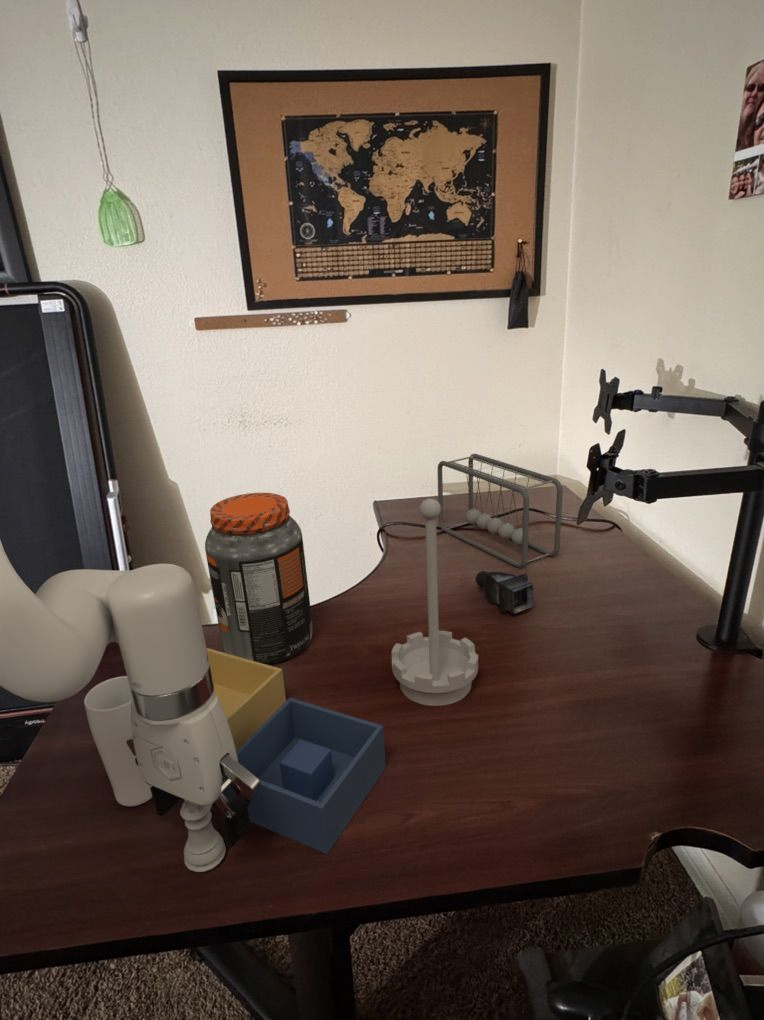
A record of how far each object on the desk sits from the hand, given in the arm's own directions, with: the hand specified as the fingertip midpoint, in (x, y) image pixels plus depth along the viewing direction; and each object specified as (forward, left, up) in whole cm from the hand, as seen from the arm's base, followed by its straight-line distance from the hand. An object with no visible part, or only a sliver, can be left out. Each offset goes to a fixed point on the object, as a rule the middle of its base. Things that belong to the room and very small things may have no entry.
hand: (203, 820), depth 67 cm
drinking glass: (+3, +15, -5) cm, 16 cm away
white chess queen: (0, 0, -5) cm, 5 cm away
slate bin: (+13, -5, -5) cm, 14 cm away
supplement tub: (+38, +20, -5) cm, 43 cm away
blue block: (+13, -5, -5) cm, 14 cm away
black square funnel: (+67, -13, -5) cm, 68 cm away
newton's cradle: (+93, -3, -5) cm, 93 cm away
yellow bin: (+18, +14, -5) cm, 23 cm away
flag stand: (+39, -11, -5) cm, 40 cm away
